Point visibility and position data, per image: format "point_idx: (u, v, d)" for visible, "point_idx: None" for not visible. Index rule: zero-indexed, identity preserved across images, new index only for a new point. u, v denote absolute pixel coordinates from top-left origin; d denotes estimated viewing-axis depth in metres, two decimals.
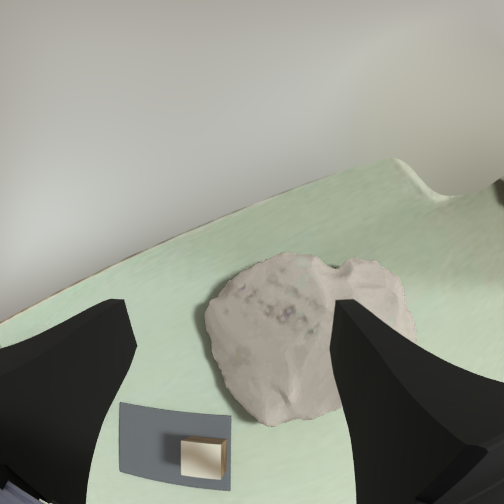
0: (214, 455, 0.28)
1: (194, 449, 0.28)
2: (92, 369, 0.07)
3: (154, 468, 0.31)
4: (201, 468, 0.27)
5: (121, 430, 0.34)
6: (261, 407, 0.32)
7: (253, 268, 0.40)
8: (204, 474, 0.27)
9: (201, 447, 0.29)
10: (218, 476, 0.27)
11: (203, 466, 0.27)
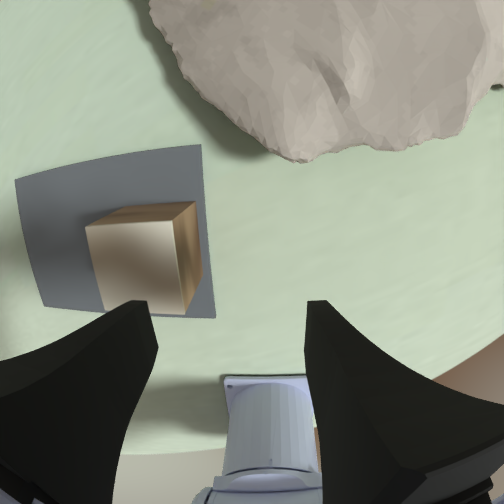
0: (160, 253, 0.13)
1: (114, 243, 0.13)
2: (117, 374, 0.07)
3: (82, 289, 0.20)
4: (139, 289, 0.15)
5: (24, 231, 0.19)
6: (272, 108, 0.12)
7: None
8: None
9: (127, 235, 0.13)
10: (178, 307, 0.14)
11: (142, 282, 0.14)
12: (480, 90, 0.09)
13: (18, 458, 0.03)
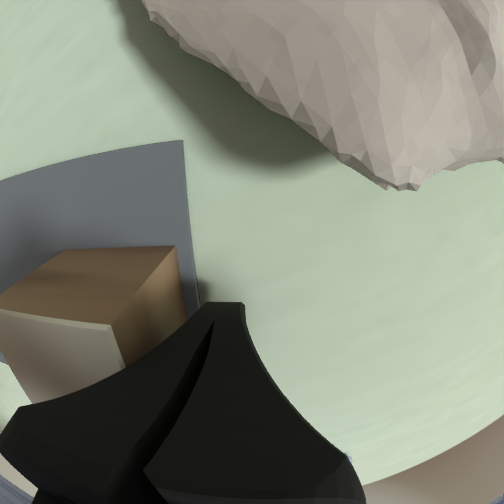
0: (100, 380, 0.06)
1: (25, 346, 0.06)
2: None
3: None
4: None
5: None
6: (350, 60, 0.04)
7: None
8: None
9: (39, 339, 0.05)
10: None
11: None
12: None
13: None
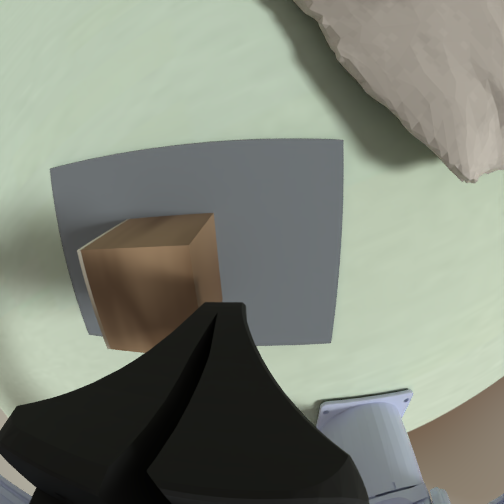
0: None
1: None
2: None
3: None
4: None
5: (63, 239, 0.16)
6: (456, 122, 0.09)
7: None
8: None
9: None
10: None
11: None
12: None
13: None
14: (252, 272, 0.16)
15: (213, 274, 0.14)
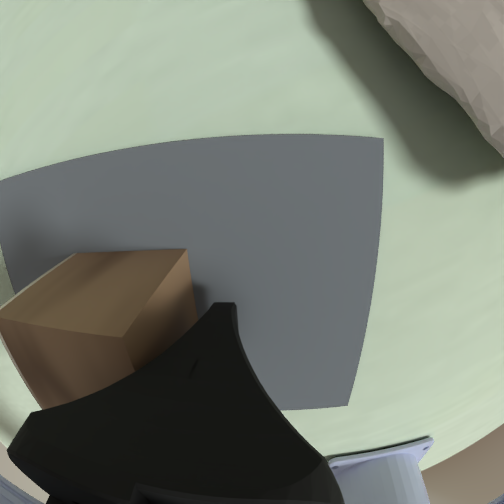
0: None
1: None
2: None
3: None
4: None
5: (10, 272, 0.11)
6: None
7: None
8: None
9: None
10: None
11: None
12: None
13: None
14: (246, 330, 0.11)
15: None
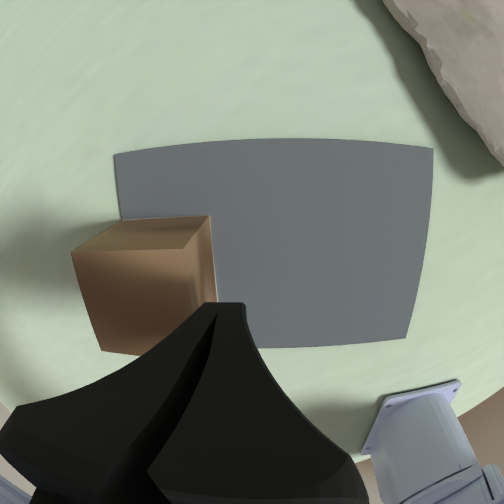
0: None
1: None
2: None
3: None
4: None
5: None
6: None
7: None
8: None
9: None
10: None
11: None
12: None
13: None
14: (348, 272, 0.15)
15: (153, 314, 0.11)
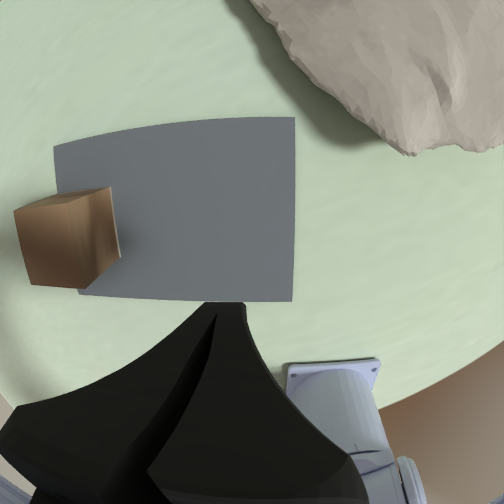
0: None
1: None
2: None
3: (134, 272, 0.19)
4: None
5: None
6: (392, 102, 0.12)
7: None
8: None
9: None
10: None
11: None
12: None
13: None
14: (218, 231, 0.18)
15: (55, 251, 0.14)
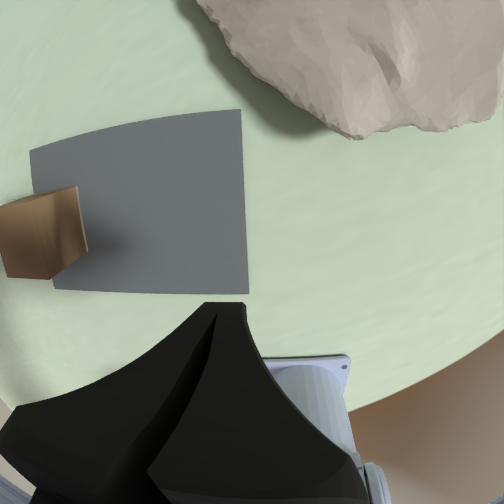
0: None
1: None
2: None
3: (100, 266, 0.20)
4: None
5: None
6: (331, 85, 0.12)
7: None
8: None
9: None
10: None
11: None
12: None
13: None
14: (172, 224, 0.18)
15: (24, 245, 0.14)
